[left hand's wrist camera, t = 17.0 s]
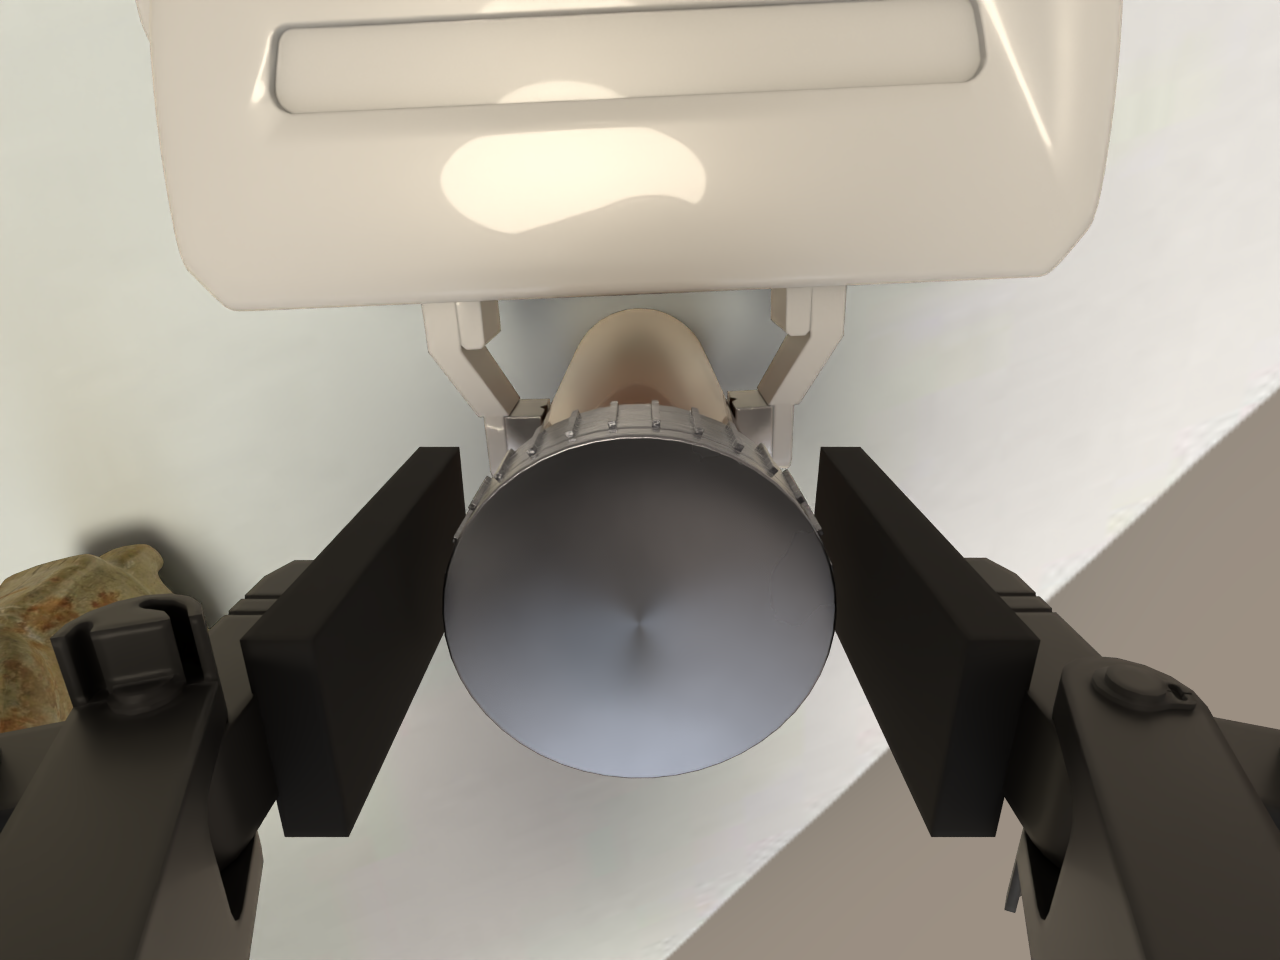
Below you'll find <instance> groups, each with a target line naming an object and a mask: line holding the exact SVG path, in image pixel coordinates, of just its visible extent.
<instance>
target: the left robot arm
mask: <svg viewBox="0 0 1280 960" xmlns="http://www.w3.org/2000/svg"><path fill="white" fill-rule="evenodd" d="M465 516H466V513H465V503H464V492H463V481H462V471H461V460H460V449H459V447H419V448H418V449H417V450H416V451H415V453H414V454H413V455H412V456H411V457H410V458H409V459H408V460H407V461H406V462H405V463H404V464H403V465H402V466H401V468H400V469H399V470H398V471H397V472H396V473H395V474H394V475H393V476H392V477H391V478H390V479H389V480H388V481H387V483H386V484H385V485H384V486H383V487H382V488H381V489H380V490H379V491H378V492H377V493H376V494H375V495H374V496H373V498H372V499H371V500H370V501H369V502H368V503H367V504H366V505H365V506H364V507H363V508H362V509H361V510H360V511H359V512H358V514H357V515H356V516H355V517H354V518H353V519H352V520H351V521H350V522H349V523H348V524H347V525H346V526H345V527H344V529H343V530H342V531H341V532H340V533H339V534H338V535H337V536H336V537H335V538H334V539H333V540H332V541H331V542H330V544H329V545H328V546H327V547H326V548H325V549H324V550H323V551H322V552H321V553H320V554H319V555H318V556H317V557H316V559H315V560H294V561H292V562H290V563H288V564H287V565H285V566H283V567H281V568H279V569H277V570H275V571H274V572H272V573H270V574H268V575H266V576H264V577H263V578H262V579H261V580H260V581H259V582H258V583H257V584H256V585H255V586H254V587H253V588H252V589H251V590H250V591H249V592H248V593H247V594H246V595H245V599H241V600H240V601H239V602H238V603H237V604H236V605H234V606H233V607H232V608H231V609H230V610H229V614H228V615H224V616H223V617H222V618H221V619H220V620H219V621H218V622H217V623H216V624H215V625H214V626H213V627H212V628H211V629H210V630H209V631H208V629H207V625H206V621H205V617H204V613H203V609H202V605H201V603H200V602H198V601H197V600H195V599H194V598H192V597H191V596H186V595H179V594H172V593H168V594H154V595H144V596H139V597H135V598H130V599H125V600H121V601H117V602H114V603H111V604H108V605H105V606H103V607H100V608H97V609H94V610H92V611H89V612H87V613H85V614H83V615H81V616H80V617H78V618H76V619H74V620H72V621H70V622H69V623H67V624H65V625H64V626H63V627H62V628H61V629H59V630H58V631H57V632H56V633H55V634H54V635H53V636H52V637H51V638H50V641H51V644H52V647H53V650H54V653H55V656H56V659H57V662H58V664H59V667H60V670H61V673H62V676H63V679H64V682H65V685H66V688H67V691H68V694H69V697H70V700H71V703H72V706H73V708H72V710H71V712H70V714H69V715H68V717H67V719H66V721H62V722H57V723H51V724H46V725H41V726H36V727H30V728H25V729H20V730H15V731H10V732H4V733H0V960H249V957H250V950H251V943H252V936H253V929H254V923H255V916H256V909H257V902H258V895H259V888H260V882H261V875H262V868H263V855H262V848H261V843H260V839H259V835H258V831H257V830H258V828H259V827H260V825H261V823H262V822H263V820H264V818H265V817H266V815H267V814H268V812H269V810H270V809H271V807H272V805H273V804H274V802H275V801H277V805H278V809H279V814H280V818H281V822H282V827H283V831H284V835H285V837H349V835H350V833H351V831H352V829H353V827H354V824H355V822H356V820H357V818H358V816H359V814H360V812H361V809H362V807H363V805H364V803H365V801H366V799H367V796H368V794H369V792H370V790H371V788H372V786H373V784H374V781H375V779H376V777H377V775H378V773H379V771H380V769H381V766H382V764H383V762H384V760H385V758H386V756H387V754H388V751H389V749H390V747H391V745H392V743H393V741H394V738H395V736H396V734H397V732H398V730H399V728H400V726H401V723H402V721H403V719H404V717H405V715H406V713H407V711H408V708H409V706H410V704H411V702H412V700H413V698H414V696H415V693H416V691H417V689H418V687H419V685H420V683H421V680H422V678H423V676H424V674H425V672H426V670H427V668H428V665H429V663H430V661H431V659H432V657H433V655H434V653H435V650H436V648H437V646H438V644H439V642H440V640H441V638H442V635H443V633H444V626H443V618H442V591H443V585H444V574H445V571H446V568H447V565H448V562H449V559H450V556H451V553H452V550H453V548H454V545H455V544H454V543H452V540H453V537H454V535H455V533H456V532H457V530H458V528H459V526H460V525H461V523H462V521H463V519H464V518H465ZM814 516H815V518H816V519H817V521H818V523H819V525H820V526H821V528H822V530H823V533H824V535H822V536H820V538H821V540H822V541H823V544H824V546H825V549H826V552H827V555H828V557H829V559H830V560H831V562H832V564H833V569H834V570H833V576H834V581H835V586H836V602H837V613H836V623H835V631H836V633H837V635H838V638H839V640H840V642H841V644H842V646H843V648H844V650H845V653H846V655H847V657H848V659H849V661H850V663H851V665H852V668H853V670H854V672H855V674H856V676H857V678H858V680H859V683H860V685H861V687H862V689H863V691H864V693H865V696H866V698H867V700H868V702H869V704H870V706H871V708H872V711H873V713H874V715H875V717H876V719H877V721H878V723H879V726H880V728H881V730H882V732H883V734H884V736H885V738H886V741H887V743H888V745H889V747H890V749H891V751H892V754H893V756H894V758H895V760H896V762H897V764H898V766H899V769H900V771H901V773H902V775H903V777H904V779H905V781H906V784H907V786H908V788H909V790H910V792H911V794H912V796H913V799H914V801H915V803H916V805H917V807H918V809H919V811H920V813H921V816H922V818H923V820H924V822H925V824H926V826H927V829H928V831H929V833H930V835H931V837H995V835H996V831H997V827H998V822H999V818H1000V814H1001V809H1002V805H1003V801H1004V797H1005V798H1006V800H1007V802H1008V803H1009V805H1010V806H1011V808H1012V810H1013V811H1014V813H1015V815H1016V816H1017V818H1018V819H1019V821H1020V823H1021V824H1022V826H1023V831H1022V835H1021V839H1020V843H1019V847H1018V851H1017V855H1016V859H1015V863H1014V867H1013V871H1012V875H1011V879H1010V883H1009V887H1008V892H1007V896H1006V903H1005V910H1007V911H1010V912H1014V913H1015V912H1016V908H1017V904H1018V900H1019V897H1020V896H1022V900H1023V907H1024V914H1025V920H1026V927H1027V934H1028V941H1029V948H1030V955H1031V960H1280V730H1278V729H1273V728H1268V727H1263V726H1257V725H1252V724H1247V723H1241V722H1236V721H1231V720H1226V719H1220V718H1215V717H1213V716H1212V714H1211V712H1210V710H1209V709H1208V707H1207V706H1206V705H1205V703H1204V702H1203V701H1202V700H1201V699H1200V698H1199V697H1198V696H1197V695H1196V693H1195V692H1194V691H1193V690H1191V689H1190V688H1188V687H1186V686H1185V685H1183V684H1182V683H1180V682H1179V681H1177V680H1176V679H1174V678H1173V677H1171V676H1169V675H1166V674H1164V673H1162V672H1159V671H1157V670H1155V669H1152V668H1150V667H1148V666H1145V665H1142V664H1138V663H1134V662H1130V661H1127V660H1123V659H1119V658H1111V657H1102V656H1101V655H1100V654H1099V653H1098V652H1097V651H1095V649H1093V648H1092V647H1091V646H1090V645H1089V644H1088V643H1087V642H1086V641H1085V640H1084V639H1083V638H1082V637H1081V636H1080V635H1079V634H1078V633H1077V632H1076V631H1075V630H1074V629H1073V628H1072V627H1071V626H1070V625H1069V624H1068V623H1067V622H1065V621H1064V620H1063V619H1062V618H1061V617H1060V616H1059V615H1058V614H1057V613H1056V612H1052V608H1051V607H1050V606H1049V605H1048V604H1047V603H1046V602H1045V601H1044V600H1043V599H1042V598H1041V597H1040V596H1036V593H1035V592H1034V591H1033V590H1032V589H1031V588H1030V587H1029V586H1028V585H1027V584H1026V583H1025V582H1024V581H1023V580H1022V579H1021V578H1020V577H1019V576H1018V575H1017V574H1015V573H1014V572H1012V571H1010V570H1008V569H1006V568H1004V567H1002V566H1000V565H998V564H997V563H995V562H993V561H991V560H989V559H987V558H964V557H963V556H962V555H961V554H960V553H959V552H958V551H957V550H956V549H955V548H954V547H953V546H952V545H951V544H950V542H949V541H948V540H947V539H946V538H945V537H944V536H943V535H942V534H941V533H940V532H939V531H938V530H937V529H936V527H935V526H934V525H933V524H932V523H931V522H930V521H929V520H928V519H927V518H926V517H925V516H924V515H923V514H922V512H921V511H920V510H919V509H918V508H917V507H916V506H915V505H914V504H913V503H912V502H911V501H910V500H909V499H908V497H907V496H906V495H905V494H904V493H903V492H902V491H901V490H900V489H899V488H898V487H897V486H896V485H895V484H894V483H893V481H892V480H891V479H890V478H889V477H888V476H887V475H886V474H885V473H884V472H883V471H882V470H881V469H880V468H879V466H878V465H877V464H876V463H875V462H874V461H873V460H872V459H871V458H870V457H869V456H868V455H867V454H866V453H865V451H864V450H863V449H862V448H861V447H821V450H820V460H819V471H818V482H817V492H816V503H815V514H814Z"/></svg>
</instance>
